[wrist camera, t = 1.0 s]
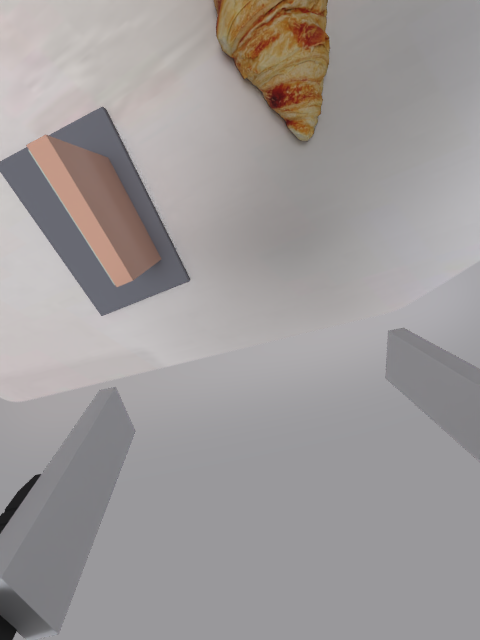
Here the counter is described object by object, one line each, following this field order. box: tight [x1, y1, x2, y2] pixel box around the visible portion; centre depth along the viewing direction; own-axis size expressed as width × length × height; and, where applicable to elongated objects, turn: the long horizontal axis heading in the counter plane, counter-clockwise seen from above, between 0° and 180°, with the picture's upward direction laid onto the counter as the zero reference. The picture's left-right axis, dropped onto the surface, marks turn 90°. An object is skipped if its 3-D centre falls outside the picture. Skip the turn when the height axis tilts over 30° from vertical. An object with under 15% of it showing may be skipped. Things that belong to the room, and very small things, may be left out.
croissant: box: [214, 0, 330, 141], centre depth 21 cm, size 21×10×8 cm, turn 27°
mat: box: [0, 107, 190, 316], centre depth 31 cm, size 14×20×1 cm
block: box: [26, 135, 161, 287], centre depth 25 cm, size 2×12×10 cm, turn 22°
